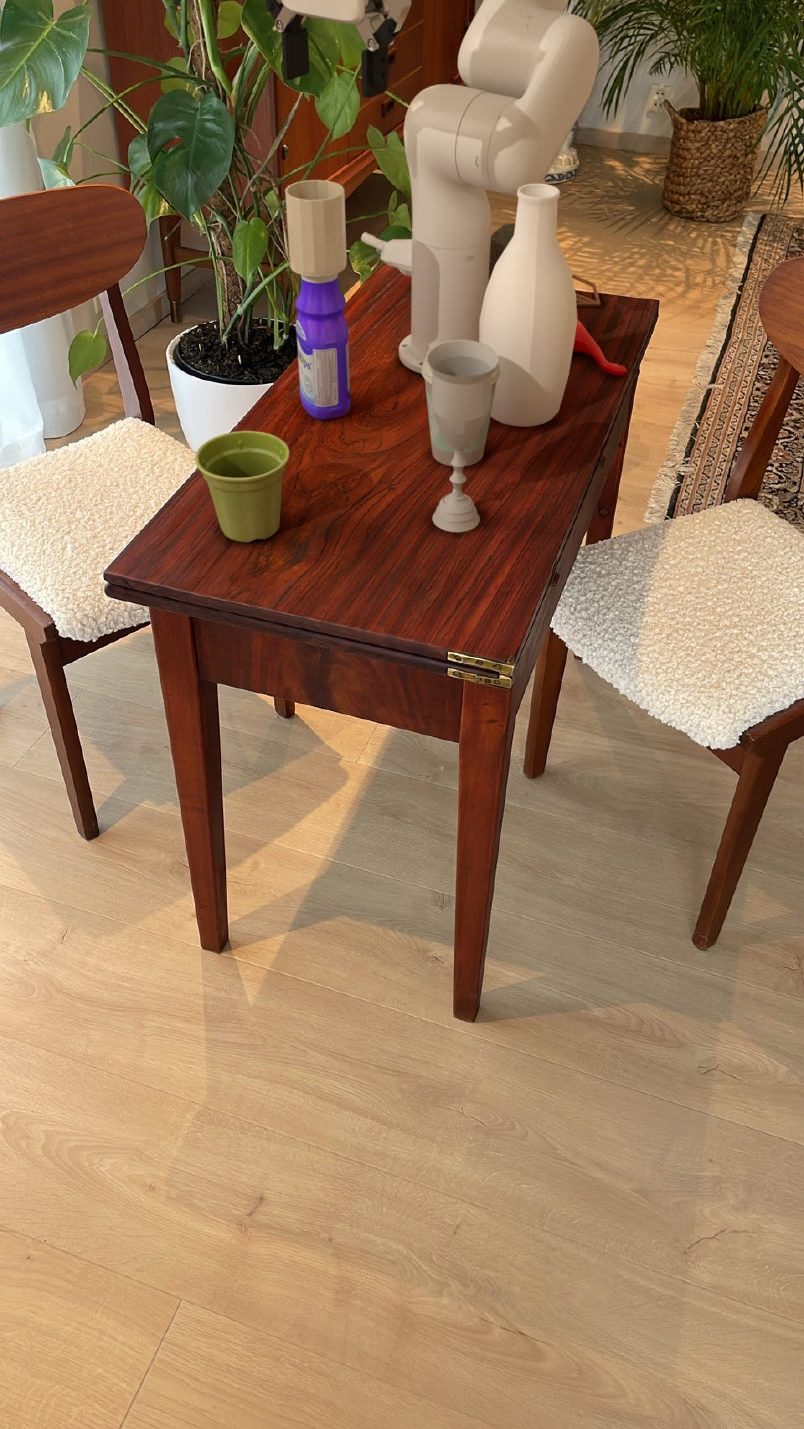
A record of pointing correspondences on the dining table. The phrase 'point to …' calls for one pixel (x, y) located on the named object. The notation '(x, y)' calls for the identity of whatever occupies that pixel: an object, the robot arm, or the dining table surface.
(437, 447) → the coffee cup
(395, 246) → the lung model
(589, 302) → the emblem
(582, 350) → the dinosaur
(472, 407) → the chalice
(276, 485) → the plant pot
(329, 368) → the bottle
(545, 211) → the bottle
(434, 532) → the dining table surface
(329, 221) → the paper cup
